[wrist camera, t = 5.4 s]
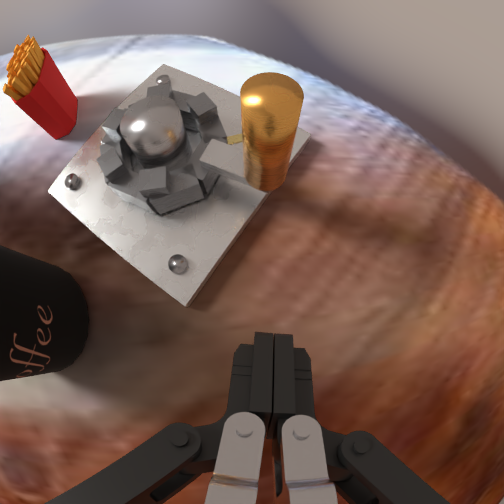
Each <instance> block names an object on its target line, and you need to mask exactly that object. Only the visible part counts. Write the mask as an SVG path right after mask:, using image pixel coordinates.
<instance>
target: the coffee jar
mask: <svg viewBox="0 0 504 504" xmlns="http://www.w3.org/2000/svg"><path fill="white" fill-rule="evenodd" d="M88 323H89V317H88V311H87V304H86V301H85V298H84V296H83V293H82V291H81V289H80V287H79V285H78V284H77V283H76V281H75V280H74V279H73V278H72V276H71V275H70V274H69V273H67V272H66V271H64V270H63V269H61V268H59V267H57V266H55V265H52V264H49V263H46V262H43V261H40V260H38V259H35V258H32V257H29V256H27V255H24V254H21V253H19V252H16V251H14V250H11V249H8V248H6V247H3V246H1V245H0V381H3V380H10V379H16V378H22V377H28V376H34V375H39V374H45V373H50V372H56V371H61V370H63V369H64V368H66V367H68V366H70V365H71V364H73V362H74V361H75V360H76V358H77V357H78V356H79V355H80V353H81V352H82V350H83V347H84V344H85V341H86V339H87V335H88Z"/></svg>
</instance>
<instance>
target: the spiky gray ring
mask: <svg viewBox="0 0 504 504" xmlns="http://www.w3.org/2000/svg"><path fill="white" fill-rule="evenodd" d="M155 95H162V96H167V97H169V98H171V99H173V100H174V101H175V102H176V103H177V105H178V107H179V110H180V113H181V116H182V119H183V122H184V126H185V128H188V129H191V130H195V131H198V133H199V136H200V138H201V141H200V143H199V144H198V146H197V147H196V149H195V151H194V152H193V154H192V155H191V157H190V159H189V160H188V162H187V164H186V165H185V166H183V167H181V168H178V169H175V170H173V171H170V172H169V171H168V169H167V167H166V166H165V167H158V168H152V169H145V170H140V173H139V174H138V173H136V172H133V169H132V165H131V160H130V157H131V155H132V154H133V151H132V150H131V148H130V147H129V145H128V144H127V142H126V141H125V139H124V137H123V136H122V134H121V131H120V123H121V119H122V117H123V115H124V113H125V112H126V111H127V110H128V109H126V108H124V110H122V109H118V108H114V109H113V111H112V112H111V113H110V115H109V116H108V118H107V119H106V120H105V122H104V123H103V124H102V127H103V129H104V130H105V132H106V135H105V136H104V138H103V139H102V141H101V143H102V145H100V153H101V156H100V157H98V158H97V159H96V160H97V162H98V164H99V166H100V168H101V170H102V172H103V174H104V179H105V183H106V184H107V186H108V187H109V188H110V189H111V190H112V191H113V192H114V193H115V194H116V195H117V196H118V197H119V198H121V199H123V200H125V201H127V202H129V203H132V204H134V205H136V206H138V207H140V208H143V209H145V210H147V211H149V212H151V213H154V214H156V213H157V211H158V213H159V214H163V213H165V212H168V211H170V210H173V209H176V208H178V207H181V206H184V205H186V204H189V203H192V202H194V201H197V200H200V199H203V198H204V196H203V193H204V194H207V195H208V194H209V192H210V190H211V188H212V186H213V185H214V183H215V181H216V179H217V177H218V176H219V174H220V175H222V176H225V177H227V178H230V179H232V180H235V181H237V182H240V183H242V184H245V185H247V186H250V187H252V188H255V189H257V190H259V191H262V192H264V193H267V194H269V195H270V193H271V191H272V190H274V189H277V188H278V187H280V186H281V185H282V184H283V182H284V181H285V179H286V175H287V170H288V166H289V162H290V157H291V153H292V148H293V144H294V139H295V135H296V131H297V126H298V122H299V117H300V112H301V108H302V103H303V99H304V94H303V91H302V88H301V87H300V85H299V84H298V83H297V82H296V81H295V80H293V79H292V78H290V77H288V76H286V75H283V74H279V73H272V72H268V73H261V74H257V75H254V76H252V77H250V78H249V79H248V80H247V81H245V83H244V84H243V86H242V88H241V91H240V97H241V119H242V141H243V150H242V149H240V148H237V147H234V146H232V145H229V144H228V141H227V135H226V133H225V130H224V128H223V126H222V123H221V121H220V119H219V116H218V111H217V106H216V105H215V104H214V102H213V101H212V100H211V99H210V98H209V97H208V96H207V95H206V94H205V93H204V92H202V93H200V94H198V95H197V96H194V95H190V94H186V93H182V92H179V91H175V90H172V87H171V84H170V83H169V84H163V85H157V86H152V87H148V89H147V96H146V97H149V96H155ZM133 104H134V103H133ZM133 104H131V105H128V108H129V107H131V106H132V105H133Z"/></svg>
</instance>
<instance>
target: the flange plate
mask: <svg viewBox="0 0 504 504" xmlns="http://www.w3.org/2000/svg"><path fill="white" fill-rule="evenodd" d="M169 83H170V84H171V87H172V90H175V91H179V92H182V93H186V94H190V95H194V96H197V95H198V94H200V93H202V92H204V93H205V94H206V95H207V96H208V97H209V98H210V99H211V100H212V101H213V102H214V104H215V105H216V106H217V111H218V116H219V119H220V121H221V123H222V126H223V128H224V130H225V133H226V135H227V141H228V144H229V145H232V146H234V147H237V148H240V149H242V150H243V141H242V119H241V97H239V96H237V95H235V94H233V93H231V92H229V91H227V90H224V89H222V88H220V87H218V86H216V85H213V84H211V83H209V82H206V81H204V80H202V79H199V78H197V77H195V76H192V75H190V74H187V73H185V72H183V71H180V70H178V69H175V68H172V67H170V66H167V65H165V64H163V65H162V66H161V67H159V68H158V69H157V70H156V71H155V72H154V73H153V74H152V75H150V76H149V77H148V78H147V79H146V80H145V81H144V82H143V83H142V84H141V85H140V86H139V87H137V88H136V89H135V90H134V91H133V92H132V93H131V94H130V95H129V96H128V97H127V98H126V99H125V100H124V101H123V102H122V103H121V104H120V105H119V106H118V107H117V108H118V109H122V110H124V108H126V109H128V110H127V111H126V112H125V113H124V115H123V117H122V119H121V123H120V131H121V134H122V136H123V137H124V139H125V141H126V142H127V144H128V145H129V147H130V148H131V150H132V151H133V154H132V155H131V157H130V160H131V165H132V169H133V172H136V173H138V174H139V173H140V170H145V169H152V168H158V167H165V166H166V167H167V169H168V171H169V172H170V171H173V170H175V169H178V168H181V167H183V166H185V165H186V164H187V162H188V160H189V159H190V157H191V155H192V154H193V152H194V151H195V149H196V147H197V146H198V144H199V143H200V141H201V138H200V136H199V133H198V131H195V130H191V129H188V128H185V126H184V122H183V119H182V116H181V113H180V110H179V107H178V105H177V103H176V102H175V101H174V100H173V99H171V98H169V97H167V96H162V95H155V96H149V97H146V96H147V89H148V87H152V86H157V85H163V84H169ZM133 103H134V104H133ZM131 104H133V105H132V106H131V107H129V108H128V105H131ZM104 122H105V121H104ZM104 122H103V123H104ZM103 123H102V124H103ZM102 124H101V125H100V126H99V128H98V129H97V130H96V131H95V132H94V133H93V134H92V135H91V137H90V138H89V139H88V140H87V141H86V142H85V144H84V145H83V146H82V147H81V148H80V150H79V151H78V152H77V153H76V154H75V156H74V157H73V158H72V159H71V161H70V162H69V163H68V164H67V166H66V167H65V168H64V170H63V171H62V172H61V174H60V175H59V176H58V178H57V179H56V180H55V182H54V183H53V184H52V186H51V187H50V188H49V190H48V192H49V193H50V194H51V195H52V196H53V197H55V198H56V199H57V200H58V201H59V202H60V203H61V204H62V205H63V206H64V207H65V208H66V209H67V210H69V211H70V212H71V213H72V214H73V215H74V216H75V217H76V218H77V219H79V220H80V221H81V222H82V223H83V224H84V225H85V226H86V227H88V228H89V229H90V230H91V231H92V232H93V233H94V234H96V235H97V236H98V237H99V238H100V239H101V240H102V241H104V242H105V243H106V244H107V245H108V246H110V247H111V248H112V249H113V250H114V251H115V252H117V253H118V254H119V255H120V256H121V257H123V258H124V259H125V260H126V261H128V262H129V263H130V264H131V265H132V266H134V267H135V268H136V269H137V270H139V271H140V272H141V273H142V274H144V275H145V276H146V277H147V278H149V279H150V280H151V281H153V282H154V283H155V284H156V285H158V286H159V287H160V288H162V289H163V290H164V291H165V292H167V293H168V294H169V295H171V296H172V297H173V298H175V299H176V300H177V301H179V302H180V303H181V304H183V305H184V306H186V307H189V306H190V305H191V303H192V302H193V300H194V299H195V297H196V296H197V295H198V293H199V292H200V290H201V289H202V288H203V286H204V285H205V283H206V282H207V280H208V279H209V278H210V276H211V275H212V273H213V272H214V271H215V269H216V268H217V266H218V265H219V264H220V262H221V261H222V260H223V258H224V257H225V255H226V254H227V253H228V251H229V250H230V248H231V247H232V246H233V244H234V243H235V241H236V240H237V239H238V237H239V236H240V235H241V233H242V232H243V230H244V229H245V228H246V226H247V225H248V224H249V222H250V221H251V219H252V218H253V217H254V215H255V214H256V213H257V211H258V210H259V208H260V207H261V206H262V204H263V203H264V202H265V200H266V199H267V198H268V196H269V194H267V193H264V192H262V191H259V190H257V189H255V188H252V187H250V186H247V185H245V184H242V183H240V182H237V181H235V180H232V179H230V178H227V177H225V176H222V175H220V174H219V176H218V177H217V179H216V181H215V183H214V185H213V186H212V188H211V190H210V192H209V194H208V195H207V194H204V193H203V196H204V198H203V199H200V200H197V201H194V202H192V203H189V204H186V205H184V206H181V207H178V208H176V209H173V210H170V211H168V212H165V213H163V214H159V213H158V211H157V213H156V214H154V213H151V212H149V211H147V210H145V209H143V208H140V207H138V206H136V205H134V204H132V203H129V202H127V201H125V200H123V199H121V198H119V197H118V196H117V195H116V194H115V193H114V192H113V191H112V190H111V189H110V188H109V187H108V186H107V184H106V183H105V179H104V174H103V172H102V170H101V168H100V166H99V164H98V162H97V160H96V159H97V158H98V157H100V156H101V153H100V145H102V143H101V141H102V139H103V138H104V136H105V135H106V132H105V130H104V129H103V127H102ZM310 136H311V134H309V133H308V132H306V131H304V130H302V129H301V128H299V127H297V131H296V135H295V139H294V144H293V148H292V153H291V157H290V162H289V166H288V169H289V168H290V166H291V165H292V164H293V162H294V161H295V160H296V158H297V157H298V156H299V154H300V153H301V152H302V150H303V149H304V148H305V146H306V145H307V144H308V142H309V139H310ZM272 191H273V190H272ZM272 191H271V192H272Z"/></svg>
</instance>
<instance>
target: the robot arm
mask: <svg viewBox="0 0 504 504" xmlns="http://www.w3.org/2000/svg"><path fill="white" fill-rule="evenodd" d="M266 432H267V437H266V439H273V440H272V463H273V482H274V503H273V504H338V502H337V495H336V491H337V492H338V493H339V494H340V495H341V496H342V497H343V498H344V499H345V500H346V501H347V502H348V503H349V504H450V503H449V502H448V501H447V500H446V499H444V498H443V497H442V496H441V495H440V494H438V493H437V492H436V491H435V490H434V489H432V488H431V487H430V486H429V485H428V484H427V483H425V482H424V481H423V480H422V479H421V478H420V477H418V476H417V475H416V474H415V473H414V472H413V471H412V470H410V469H409V468H408V467H407V466H406V465H405V464H404V463H402V462H401V461H400V460H399V459H398V458H397V457H396V456H395V455H394V454H392V453H391V452H390V451H389V450H388V449H387V448H386V447H385V446H384V445H383V444H381V443H380V442H379V441H378V440H377V439H376V438H375V437H374V436H373V435H371V434H370V433H368V432H365V431H354V432H351V433H350V434H348V435H343V434H339V433H335V432H332V431H329V430H327V429H325V428H324V427H322V426H321V425H320V424H319V423H318V421H317V419H316V417H315V413H314V399H313V385H312V372H311V360H310V357H309V355H308V354H307V352H306V350H305V348H293V335H290V334H275V333H274V337H273V333H263V332H255V337H254V345H248V344H240V346H239V347H238V349H237V350H236V352H235V353H234V359H233V367H232V375H231V382H230V390H229V398H228V406H227V411H226V413H225V415H224V416H223V417H222V418H221V419H220V420H219V421H217V422H216V423H213V424H210V425H205V426H199V427H192V426H191V425H189V424H186V423H173V424H170V425H168V426H167V427H165V428H164V429H162V430H161V431H160V432H158V433H157V434H155V435H154V436H153V437H151V438H150V439H148V440H147V441H145V442H144V443H143V444H141V445H140V446H138V447H137V448H135V449H134V450H132V451H131V452H129V453H128V454H126V455H125V456H123V457H122V458H120V459H119V460H117V461H116V462H114V463H112V464H111V465H109V466H108V467H106V468H105V469H103V470H101V471H100V472H98V473H97V474H95V475H93V476H92V477H90V478H88V479H87V480H85V481H83V482H82V483H80V484H78V485H77V486H75V487H73V488H72V489H70V490H68V491H66V492H65V493H63V494H61V495H59V496H57V497H56V498H54V499H52V500H50V501H48V502H46V503H45V504H163V503H164V502H166V501H167V500H168V499H170V498H171V497H173V496H174V495H175V494H177V493H178V492H179V491H181V490H182V489H183V488H185V487H186V486H187V485H188V484H190V483H191V482H192V481H194V480H195V479H196V478H197V477H199V476H200V475H201V474H202V473H206V472H212V471H214V473H213V476H212V478H211V480H210V483H209V487H208V491H207V496H206V500H205V504H255V503H256V497H257V490H258V478H259V471H260V464H261V457H262V450H263V443H264V438H265V435H266Z"/></svg>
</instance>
